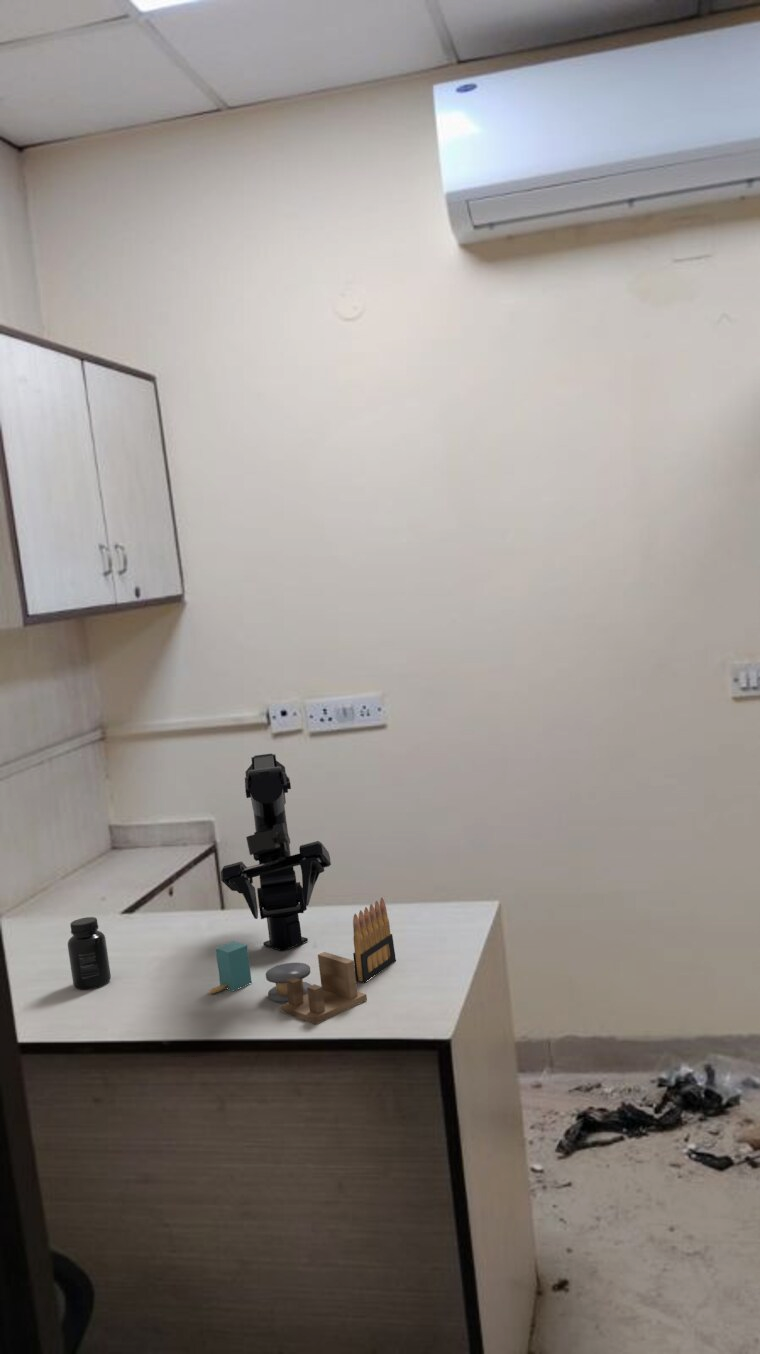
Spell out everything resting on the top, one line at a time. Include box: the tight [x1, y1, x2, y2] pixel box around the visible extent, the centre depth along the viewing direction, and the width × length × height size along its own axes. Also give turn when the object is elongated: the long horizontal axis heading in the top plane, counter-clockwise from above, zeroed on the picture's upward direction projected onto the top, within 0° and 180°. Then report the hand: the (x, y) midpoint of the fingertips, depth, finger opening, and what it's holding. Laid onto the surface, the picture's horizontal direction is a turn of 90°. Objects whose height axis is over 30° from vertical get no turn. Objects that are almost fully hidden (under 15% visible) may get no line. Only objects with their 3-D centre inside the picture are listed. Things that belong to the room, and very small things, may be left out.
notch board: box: [279, 951, 368, 1025], centre depth 169 cm, size 9×11×7 cm
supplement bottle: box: [67, 916, 112, 991], centre depth 191 cm, size 7×7×12 cm
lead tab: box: [209, 940, 253, 995], centre depth 181 cm, size 4×8×7 cm, turn 133°
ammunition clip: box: [352, 897, 397, 984], centre depth 182 cm, size 11×2×12 cm, turn 148°
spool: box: [265, 962, 312, 1004], centre depth 176 cm, size 8×8×4 cm
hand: (281, 911), depth 177 cm, fingers open, 9 cm apart
